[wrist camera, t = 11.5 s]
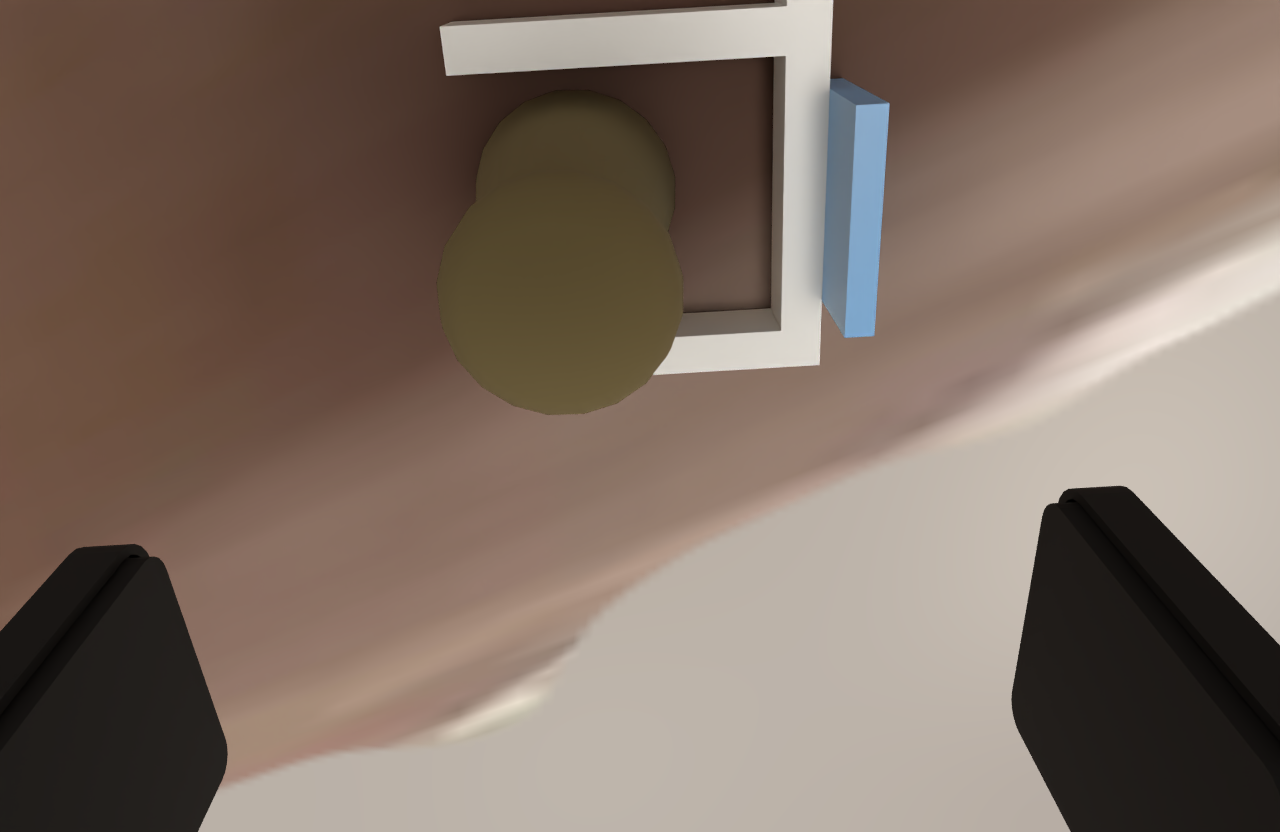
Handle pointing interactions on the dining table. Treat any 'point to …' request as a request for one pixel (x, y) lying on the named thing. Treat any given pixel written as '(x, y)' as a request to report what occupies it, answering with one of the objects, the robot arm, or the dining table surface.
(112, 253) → the dining table surface
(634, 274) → the olive rounded piece
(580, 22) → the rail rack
